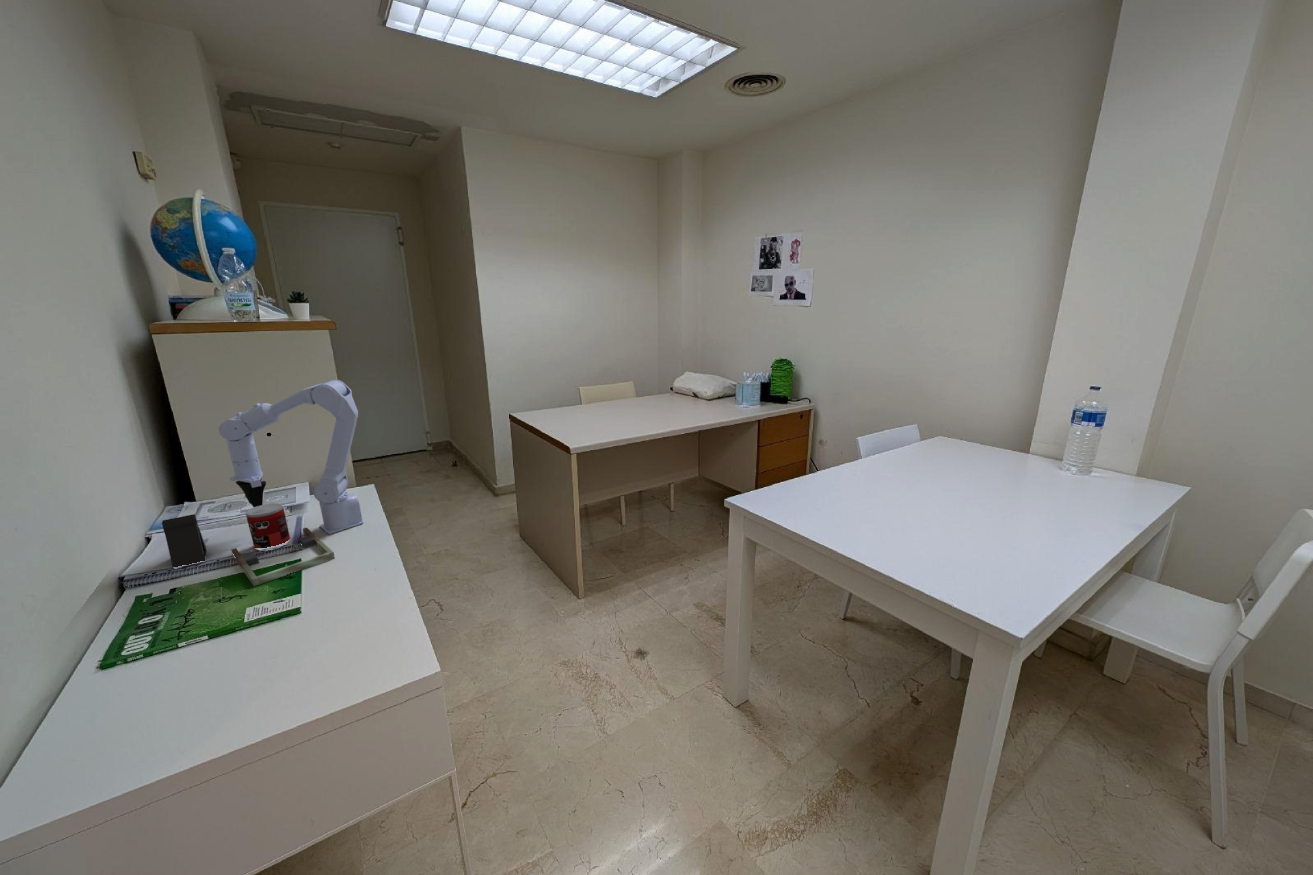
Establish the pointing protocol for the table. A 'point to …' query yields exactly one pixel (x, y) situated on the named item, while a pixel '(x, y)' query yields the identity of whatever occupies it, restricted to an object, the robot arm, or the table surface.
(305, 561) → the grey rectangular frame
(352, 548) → the table surface
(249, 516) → the canned food
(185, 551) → the phone stand
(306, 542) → the trap blocks
